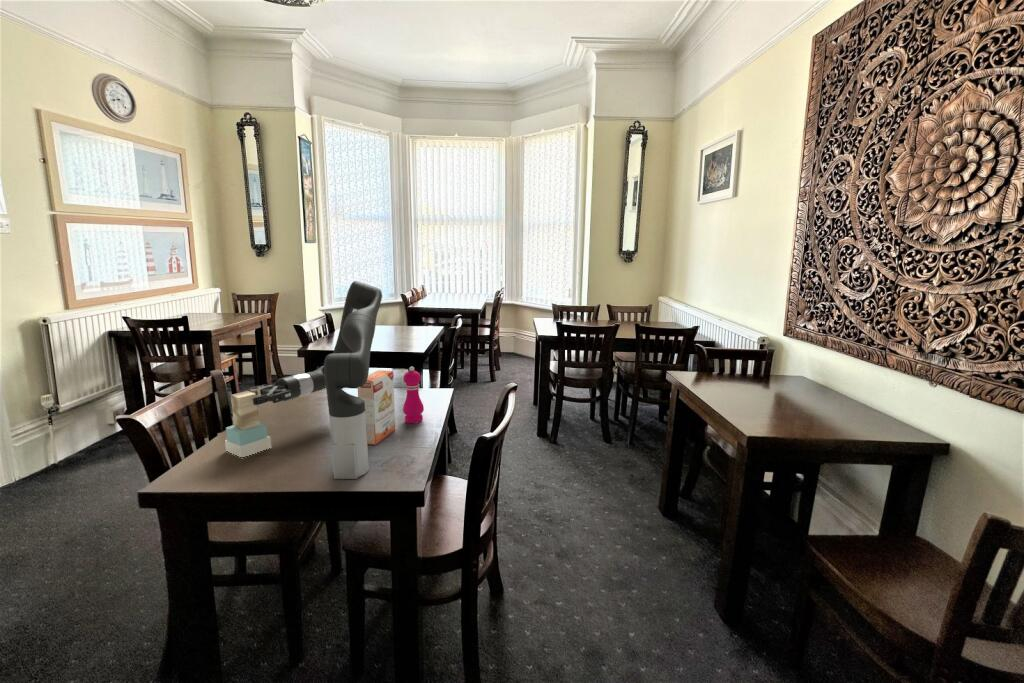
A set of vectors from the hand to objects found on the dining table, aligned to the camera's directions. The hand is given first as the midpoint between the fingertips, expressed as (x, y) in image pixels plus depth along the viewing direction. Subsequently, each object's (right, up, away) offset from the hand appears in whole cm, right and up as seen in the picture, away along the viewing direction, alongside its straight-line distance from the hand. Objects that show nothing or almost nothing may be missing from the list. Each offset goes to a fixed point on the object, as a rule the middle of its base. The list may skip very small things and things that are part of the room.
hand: (245, 399), depth 141 cm
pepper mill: (+45, -11, +28) cm, 54 cm away
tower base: (-1, -16, +3) cm, 16 cm away
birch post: (-1, -8, +1) cm, 8 cm away
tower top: (-1, -12, +2) cm, 12 cm away
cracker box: (+36, -14, +13) cm, 41 cm away
